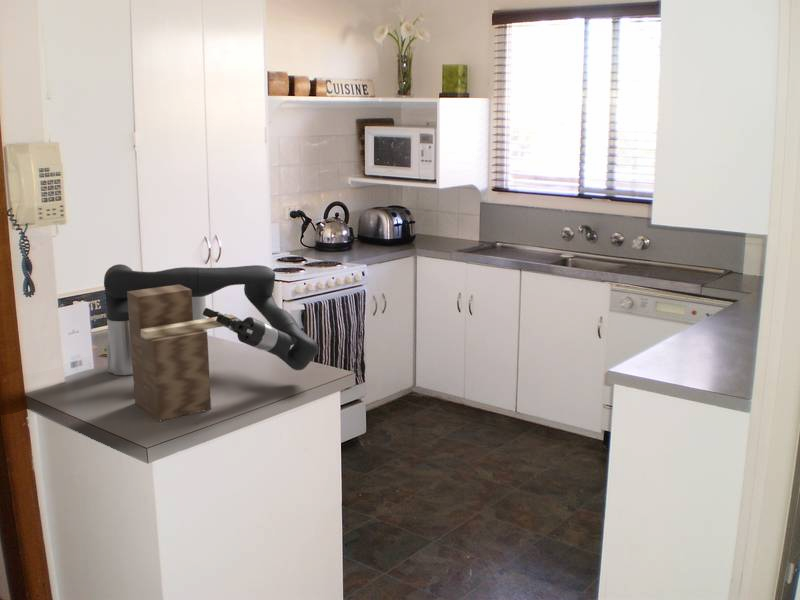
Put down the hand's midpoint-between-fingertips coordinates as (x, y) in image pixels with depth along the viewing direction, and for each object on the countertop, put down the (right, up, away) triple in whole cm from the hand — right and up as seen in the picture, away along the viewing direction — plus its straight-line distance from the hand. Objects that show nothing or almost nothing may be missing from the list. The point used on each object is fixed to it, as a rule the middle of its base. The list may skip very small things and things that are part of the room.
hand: (211, 314), depth 233 cm
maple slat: (-5, -4, -3) cm, 7 cm away
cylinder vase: (-19, -14, +51) cm, 56 cm away
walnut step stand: (-11, -25, +3) cm, 28 cm away
